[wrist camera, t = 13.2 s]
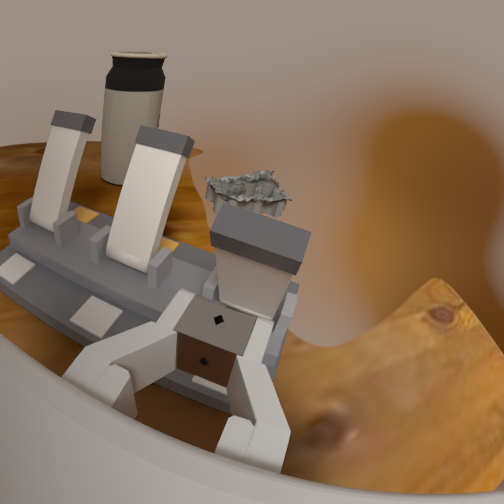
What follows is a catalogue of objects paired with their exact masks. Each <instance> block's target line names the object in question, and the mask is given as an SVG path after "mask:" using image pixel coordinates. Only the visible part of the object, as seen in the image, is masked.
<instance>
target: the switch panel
mask: <svg viewBox="0 0 504 504" xmlns="http://www.w3.org/2000/svg"><path fill="white" fill-rule="evenodd" d="M32 201H33V197H31V198H29V199H28V200H26V201H25V202H23V203H22V204H20V205H18V206H17V211H18V217H19V222H20V227H18V228H17V229H15V230H14V231H13V232H11V233H10V234H9V235H8V238H9V242H10V245H8V246H7V247H6V248H5V249H3V250H2V251H1V252H0V291H1V292H2V293H4V294H5V295H6V296H8V297H9V298H10V299H12V300H13V301H15V302H16V303H17V304H19V305H20V306H22V307H23V308H24V309H26V310H27V311H29V312H30V313H32V314H33V315H35V316H36V317H37V318H39V319H40V320H42V321H43V322H45V323H47V324H48V325H50V326H51V327H53V328H54V329H56V330H57V331H59V332H61V333H62V334H64V335H66V336H67V337H69V338H70V339H72V340H74V341H75V342H77V343H79V344H81V345H82V346H84V347H85V346H88V345H91V344H93V343H96V342H99V341H101V340H104V339H106V338H109V337H112V336H114V335H117V334H119V333H122V332H125V331H127V330H130V329H132V328H135V327H137V326H140V325H142V324H145V323H148V322H150V321H153V322H155V323H156V322H157V320H158V319H159V317H160V316H161V314H162V313H163V312H164V310H165V309H166V307H167V306H168V304H169V303H170V302H171V300H172V299H173V297H174V296H175V295H176V293H177V292H178V291H179V290H180V289H182V288H183V289H185V290H187V291H190V292H192V293H195V294H198V295H201V296H203V297H206V298H208V299H211V300H213V301H216V302H218V303H221V301H220V299H219V288H218V276H217V264H216V255H215V254H213V253H210V252H207V251H204V250H202V249H199V248H196V247H193V246H190V245H188V244H185V243H182V242H179V241H177V240H174V239H171V238H168V237H166V236H163V235H162V238H161V241H160V245H159V248H158V252H157V254H156V255H155V256H154V257H153V259H152V260H151V261H150V262H149V263H148V274H146V273H144V272H142V271H139V270H137V269H134V268H132V267H130V266H127V265H125V264H123V263H120V262H118V261H116V260H113V259H111V258H109V257H107V256H106V247H107V243H108V239H109V235H110V231H111V227H112V223H113V219H114V217H111V216H109V215H106V214H103V213H101V212H98V211H95V210H93V209H90V208H87V207H85V206H82V205H79V204H77V203H74V202H71V201H70V202H69V207H68V211H67V213H66V214H65V215H63V216H62V217H61V218H59V219H58V220H56V221H55V222H54V223H53V229H54V232H52V231H49V230H47V229H45V228H43V227H41V226H39V225H37V224H35V223H33V222H31V221H30V218H29V216H30V211H31V206H32ZM298 287H299V284H298V283H294V282H292V281H290V283H289V285H288V287H287V289H286V291H285V293H284V296H283V298H282V300H281V302H280V304H279V306H278V308H277V310H276V312H275V315H274V317H273V319H271V321H274V325H273V328H272V332H271V335H270V338H269V341H268V344H267V347H266V350H265V353H264V356H263V359H262V362H261V363H262V364H265V365H266V367H267V369H268V372H269V375H270V377H271V380H272V383H273V379H274V376H275V372H276V369H277V365H278V362H279V358H280V355H281V351H282V348H283V344H284V341H285V337H286V333H287V330H288V326H289V324H290V322H291V319H292V317H293V314H294V309H295V306H296V302H297V298H298V295H297V292H298ZM221 304H222V303H221ZM223 305H225V304H223ZM226 306H228V305H226ZM229 307H231V306H229ZM232 308H233V307H232ZM235 309H236V308H235ZM238 310H239V309H238ZM257 318H258V317H257ZM153 383H155V384H157V385H160V386H162V387H164V388H166V389H169V390H171V391H173V392H175V393H178V394H180V395H182V396H185V397H187V398H190V399H192V400H194V401H197V402H199V403H202V404H204V405H207V406H210V407H212V408H215V409H217V410H220V411H223V412H226V413H228V414H231V415H232V413H231V409H230V404H229V399H228V395H227V390H226V389H227V388H225V387H223V386H220V385H218V384H215V383H213V382H210V381H208V380H205V379H203V378H201V377H198V376H195V375H193V374H190V373H187V372H185V371H182V370H180V369H177V368H175V370H174V371H172V372H170V373H169V374H167V375H165V376H163V377H162V378H160V379H158V380H157V381H155V382H153Z"/></svg>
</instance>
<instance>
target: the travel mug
mask: <svg viewBox="0 0 504 504" xmlns="http://www.w3.org/2000/svg"><path fill="white" fill-rule="evenodd" d="M111 56H112V58H113V67H112V68H111V70H110V71H109V73H108V75H107V76H106V84H105V95H104V106H103V121H102V140H101V177H102V178H103V179H104V180H105V181H107V182H110V183H113V184H116V185H123V184H124V180H125V177H126V174H127V171H128V168H129V165H130V161H131V158H132V155H133V153H134V150H135V147H136V144H137V143H136V142H135V140H136V137H137V134H138V131H139V129H140V126H141V125H142V126H147V127H152V128H156V129H158V126H159V118H160V109H161V103H162V96H163V90H164V83H165V76H164V73H163V70H162V66H163V63H164V60H165V58H167V55H166V54H161V53H152V52H112V53H111Z"/></svg>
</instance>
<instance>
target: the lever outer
mask: <svg viewBox="0 0 504 504" xmlns="http://www.w3.org/2000/svg"><path fill="white" fill-rule="evenodd" d="M310 235H311V232H309V231H306V230H304V229H301V228H298V227H295V226H292V225H289V224H286V223H283V222H280V221H277V220H274V219H272V218H268V217H266V216H263V215H260V214H257V213H254V212H251V211H248V210H245V209H242V208H238V207H235V206H232V205H229V204H226V203H223V205H222V207H221V209H220V211H219V213H218V215H217V217H216V219H215V221H214V223H213V225H212V227H211V229H210V239H211V246H214V247H215V252H216V264H217V276H218V288H219V299H220V301H221V303H222V304H225V305H228V306H231V307H233V308H236V309H239V310H241V311H244V312H247V313H250V314H253V315H256V316H259V317H262V318H265V319H268V320H271V319H273V317H274V315H275V312H276V310H277V308H278V306H279V304H280V302H281V300H282V298H283V296H284V293H285V291H286V289H287V287H288V285H289V283H290V281H291V278H292V276H293V275H296V274H297V272H298V270H299V267H300V265H301V263H302V260H303V257H304V254H305V251H306V248H307V244H308V241H309V238H310Z"/></svg>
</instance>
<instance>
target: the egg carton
mask: <svg viewBox="0 0 504 504" xmlns="http://www.w3.org/2000/svg"><path fill="white" fill-rule="evenodd" d="M273 172H274V171H269V172H268V171H267V170H265V171H256V172H254V173H253V174H252V175H245V174H242V175H241V176H234V177H231V176H225V177H220V178H215V179H214V178H208V177H207V178H206V182H207V183H208V186H207V192H206V196H205V197H206V199H207V201H210V202H213V203H214V206H213V211H214V212H215V213H217V214H218V213H219V211H220V209H221V207H222V205H223V203H226V204H229V205H232V206H235V207H238V208H242V209H245V210H248V211H251V212H254V213H257V214H260V213H266V214H269V215H271V216H273V217H274V218H277V217H280V216H281V214H282V212H283V211H284V209H285V206H286V202H287V199H288V200H290V201H292V200H291V198H290V196H289V195H286V193H285V190H282V191H279V182H278V180H277V179H276V178H275V176H274V175H273V174H272V173H273Z"/></svg>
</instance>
